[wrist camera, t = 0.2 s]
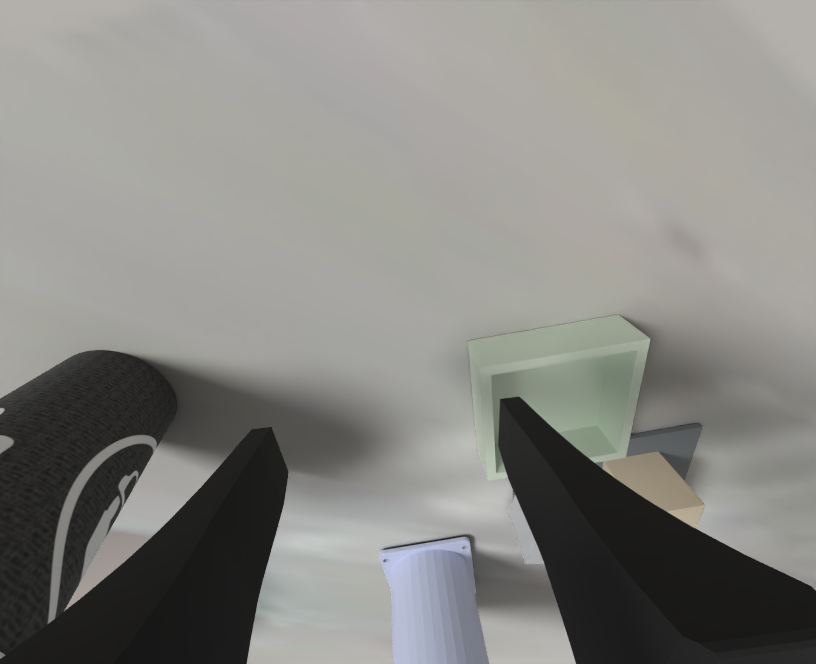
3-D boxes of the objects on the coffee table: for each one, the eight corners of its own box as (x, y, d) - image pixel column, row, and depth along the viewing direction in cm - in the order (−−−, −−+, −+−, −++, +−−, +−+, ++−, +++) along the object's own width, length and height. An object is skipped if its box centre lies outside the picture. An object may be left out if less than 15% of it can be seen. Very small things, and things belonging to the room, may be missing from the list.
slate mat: (675, 491, 31) (678, 495, 30) (513, 518, 31) (515, 523, 30) (697, 423, 27) (702, 426, 26) (512, 454, 27) (514, 458, 26)
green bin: (601, 426, 26) (625, 457, 24) (476, 447, 26) (487, 480, 24) (618, 314, 22) (650, 338, 19) (467, 340, 22) (479, 368, 19)
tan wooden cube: (648, 487, 29) (690, 541, 25) (597, 495, 29) (631, 551, 25) (658, 451, 27) (705, 505, 23) (603, 460, 27) (641, 515, 23)
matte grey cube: (555, 513, 30) (579, 563, 27) (508, 513, 30) (525, 564, 26) (572, 479, 28) (599, 528, 25) (520, 479, 28) (541, 528, 24)
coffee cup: (171, 320, 20) (-243, 695, 7) (222, 445, 24) (39, 810, 11) (-12, 332, 19) (-851, 760, 6) (75, 457, 24) (-293, 851, 11)
